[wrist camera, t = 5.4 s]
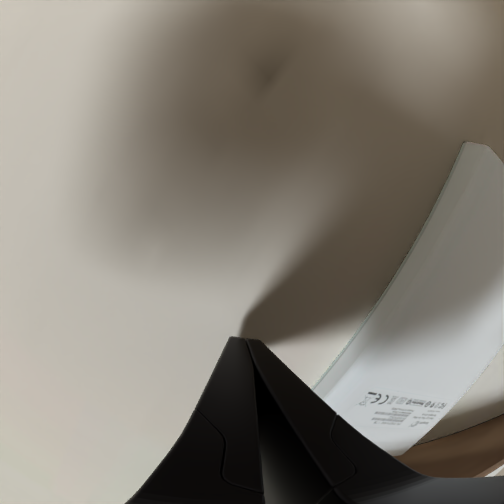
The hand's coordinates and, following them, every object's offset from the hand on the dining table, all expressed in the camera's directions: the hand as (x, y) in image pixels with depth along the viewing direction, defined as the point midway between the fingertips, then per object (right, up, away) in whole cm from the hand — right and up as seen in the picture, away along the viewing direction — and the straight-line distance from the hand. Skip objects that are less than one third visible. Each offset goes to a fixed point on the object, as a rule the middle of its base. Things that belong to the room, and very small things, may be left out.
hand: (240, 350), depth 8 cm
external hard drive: (+7, -1, +2) cm, 8 cm away
